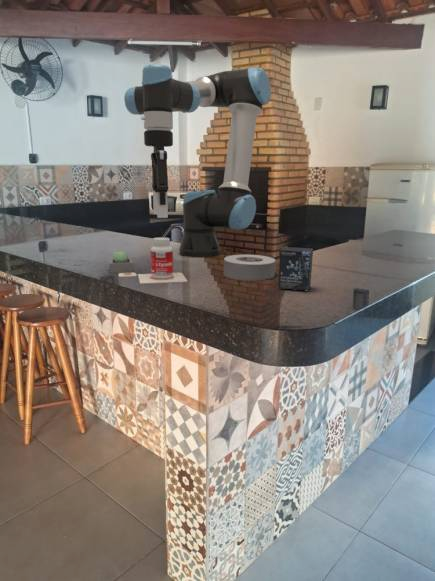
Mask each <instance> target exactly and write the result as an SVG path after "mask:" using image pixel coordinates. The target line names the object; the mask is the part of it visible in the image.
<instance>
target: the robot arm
mask: <svg viewBox="0 0 435 581" xmlns="http://www.w3.org/2000/svg"><path fill="white" fill-rule="evenodd" d="M172 72H173V71H172V68H171V67H170V66H169V65H166V64H158V63H154V64H147V65H145V66H144V67H143V68H142V81H141V85H139V86H134V87H132V86H131V87H129V88H127V90H126V91H125V93H124V96H123V97H124V100H123V101H124V105H125V108H126V109H127V111H128V112H129V113H130V114H132V115H139V116H140V117H141V118H140V119H141V120H142V121H144V122H143V128H144V129H145V131H144V132H143V138H144V139H143V140H144V141H143V143H144V145H145V147H153V152H151V153H150V160H151V169H152V171H151V172H152V174H151V175H152V177H151V178H152V179H151V180H152V181H151V182H152V184H151V187H152V198H153V199H152V201H153V202H152V203H153V215H156V216H157V219H168V217H169V215H168V214H169V211H168V210H169V209H168V204H169V202H168V199H169V198H168V190H169V180H168V152H167V150H165V148H166V147H170V148H171V147H172V146H173V145H174V134H173V131H172V130H173V129H174V121H173V116H174V115H173V113H174V112H175V113H176V112H181V113H189V114H191V113H193V112H196V110H197V109H198V108H199V107H201V108H211V107H212V108H213V107H214V108H228V110H229V112H230V113H231V120H230V126H229V135H228V142H227V144H228V145H227V151H226V160H225V167H224V173H223V174H224V177H223V182H222V184H221V185H219V187H218V188H217V191H216V190H215V189H207V190H197V191H196V190H195V191H189V192H186V193H184V195H183V202H182V208H183V211H182V212H183V213H182V214H183V235H182V239H181V241H180V244H179V249H178V253H179V255H180V256H183V257H187V258H212V257H213V258H214V257H217V256H220V255H221V254H220V253H221V252H220V251H221V248H220V245H219V242H218V239H217V236H216V228H221V229H231V230H243V229H244V230H245V229H246V228H248V227H249V226H250V225H251V224H252V222H253V220H254V218H255V216H256V212H257V204H256V199H255V197H254V196H253V195H252V190H251V189H250V187H249V180H250V172H251V164H252V163H251V162H252V158H253V157H252V155H253V149H254V148H253V147H254V141H255V133H256V126H257V125H256V124H257V118H258V117H259V115H261V114H262V112H263V106H266V105H267V104H269V102H270V100H271V96H272V88H271V84H270V79H269V76H268V74H267V72H266V70H264V69H263V68H261V67H248V68H247V67H246V68H241V69H234V70H225V71H220V72H216V73H213V74H210V75H205V76H200V77H198V78H196V79H195V80H192V81H191V80H188V81H181V80H178V79H174V78H173V73H172ZM142 115H143V116H142ZM216 192H217V193H216Z"/></svg>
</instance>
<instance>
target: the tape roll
mask: <svg viewBox="0 0 435 581" xmlns="http://www.w3.org/2000/svg"><path fill="white" fill-rule="evenodd" d="M223 276H224V277H226V278H228V279H231V280H237V281H246V282H247V281H248V282H249V281H250V282H251V281H252V282H253V281H254V282H255V281H256V282H259V281H266V279H268V280H271V279H273V278H275V276H276V259H275V258H274V257H270V256H266V255H260V254H259V255H258V254H233V255H227V256H225V257H224V258H223ZM270 278H271V279H270Z"/></svg>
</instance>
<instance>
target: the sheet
mask: <svg viewBox="0 0 435 581" xmlns="http://www.w3.org/2000/svg"><path fill="white" fill-rule="evenodd" d="M137 276H138V278H137V279H138V280H139V284H140V285H149V284H170V283H188V280H187V278H186V277H185V275H184V274H183V272H173V276H172V277H171V278H168V279H156V278H153V277H152V276H151V273H141V274H140V273H139V274H137Z"/></svg>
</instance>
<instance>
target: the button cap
mask: <svg viewBox="0 0 435 581" xmlns="http://www.w3.org/2000/svg"><path fill="white" fill-rule="evenodd" d="M113 256H114V257H113V258H114V261H115V263H123V262H128V259H129V257H128V256H129V255H128V251H126V250H123V251H122V250H121V251H114V252H113Z"/></svg>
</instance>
